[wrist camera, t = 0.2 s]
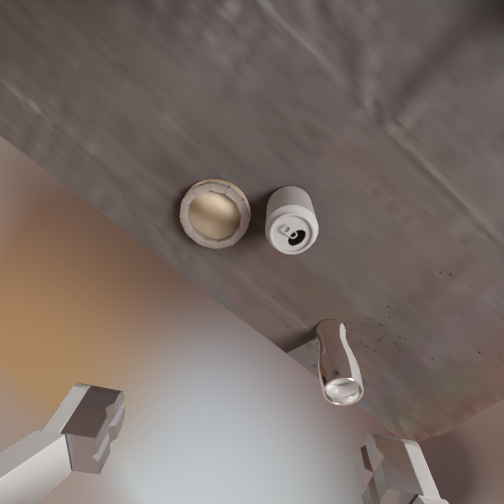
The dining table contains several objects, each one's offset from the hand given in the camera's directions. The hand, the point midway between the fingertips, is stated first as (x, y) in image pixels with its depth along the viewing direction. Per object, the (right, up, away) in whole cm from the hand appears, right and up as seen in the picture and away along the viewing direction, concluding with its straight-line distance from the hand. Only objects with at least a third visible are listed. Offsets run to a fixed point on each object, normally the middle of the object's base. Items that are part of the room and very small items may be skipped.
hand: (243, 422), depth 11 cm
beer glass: (+16, -10, +55) cm, 58 cm away
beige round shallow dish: (-6, +12, +45) cm, 47 cm away
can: (+7, +13, +44) cm, 46 cm away
